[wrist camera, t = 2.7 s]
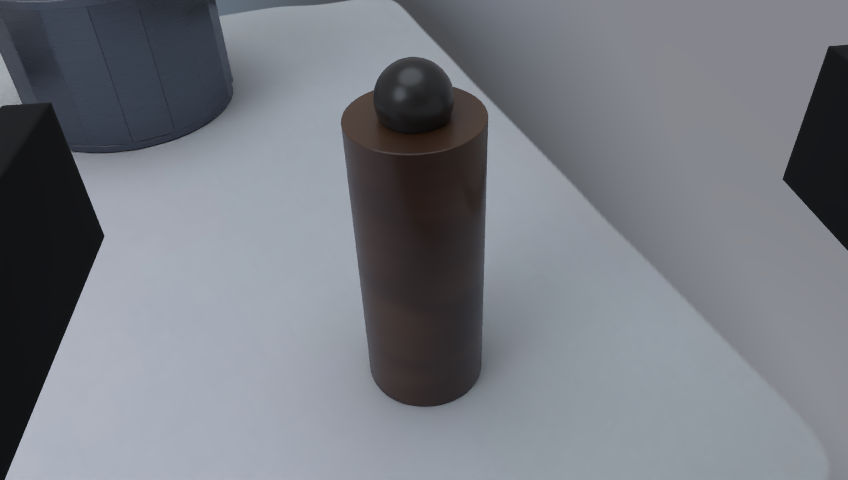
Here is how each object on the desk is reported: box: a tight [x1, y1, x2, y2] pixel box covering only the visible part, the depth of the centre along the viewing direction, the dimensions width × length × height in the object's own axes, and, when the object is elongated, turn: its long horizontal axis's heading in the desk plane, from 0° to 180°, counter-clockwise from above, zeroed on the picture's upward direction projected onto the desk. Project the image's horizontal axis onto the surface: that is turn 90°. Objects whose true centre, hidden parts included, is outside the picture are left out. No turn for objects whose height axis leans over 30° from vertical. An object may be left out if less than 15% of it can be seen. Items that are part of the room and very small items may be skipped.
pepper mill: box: [341, 57, 488, 406], centre depth 26 cm, size 5×5×14 cm
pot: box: [0, 0, 233, 153], centre depth 47 cm, size 14×14×10 cm
